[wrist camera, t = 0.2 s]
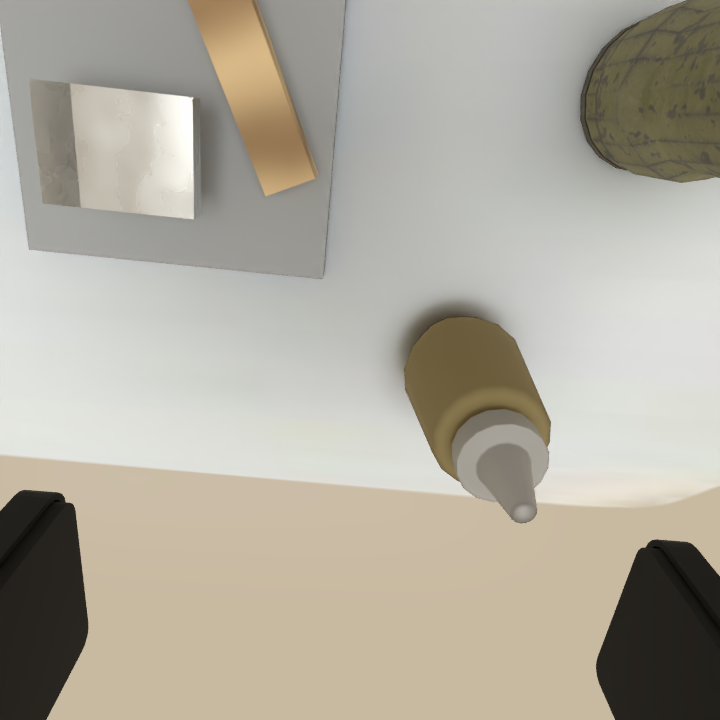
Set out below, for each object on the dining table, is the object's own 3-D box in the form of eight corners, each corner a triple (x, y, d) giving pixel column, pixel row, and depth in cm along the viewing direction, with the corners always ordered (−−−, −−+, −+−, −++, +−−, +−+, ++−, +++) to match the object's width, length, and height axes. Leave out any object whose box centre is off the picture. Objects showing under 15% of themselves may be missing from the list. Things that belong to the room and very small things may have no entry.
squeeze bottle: (392, 397, 42) (417, 576, 25) (407, 295, 39) (447, 422, 22) (497, 407, 42) (589, 589, 26) (521, 306, 39) (642, 440, 23)
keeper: (77, 85, 32) (28, 78, 27) (216, 101, 33) (192, 97, 28) (86, 192, 34) (42, 203, 30) (216, 206, 35) (194, 219, 30)
